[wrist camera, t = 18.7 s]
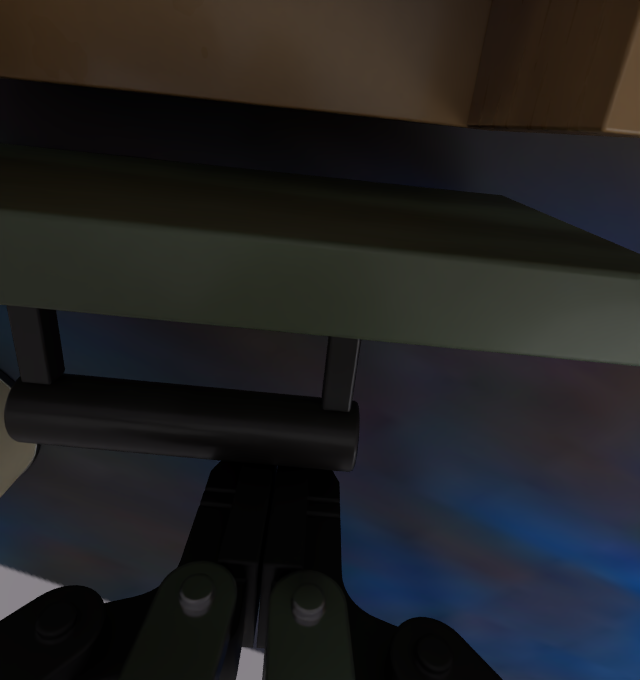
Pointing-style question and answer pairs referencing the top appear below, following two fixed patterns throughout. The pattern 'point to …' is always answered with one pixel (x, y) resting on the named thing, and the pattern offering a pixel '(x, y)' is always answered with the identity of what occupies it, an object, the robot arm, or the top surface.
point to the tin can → (12, 445)
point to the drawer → (304, 208)
